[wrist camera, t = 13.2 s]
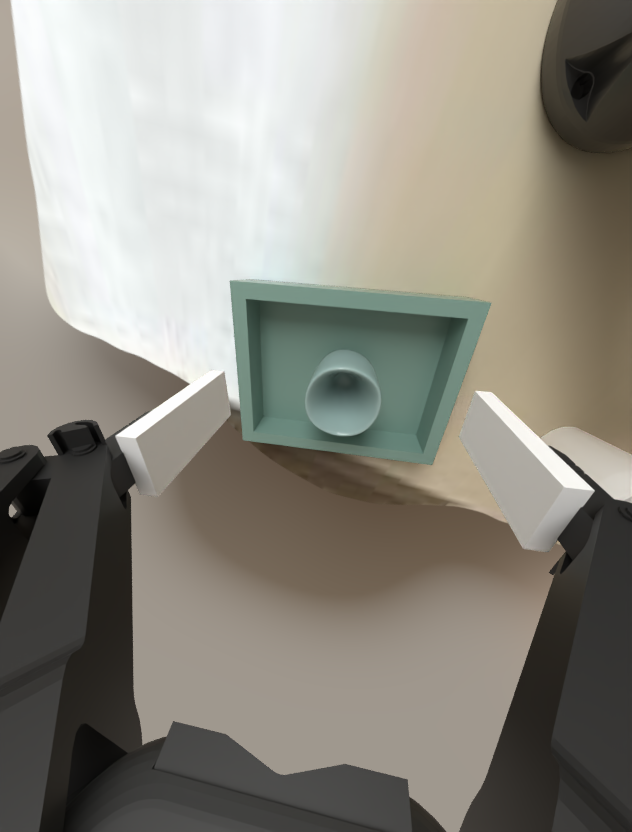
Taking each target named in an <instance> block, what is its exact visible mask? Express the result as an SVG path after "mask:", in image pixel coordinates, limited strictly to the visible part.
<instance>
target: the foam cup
mask: <svg viewBox="0 0 632 832" xmlns="http://www.w3.org/2000/svg"><path fill="white" fill-rule="evenodd" d="M541 440H542V441H543V442H544V443H545V444H546V445H547V446H552V447H553V448H555V449H557V450H559V451H560V452H562V453H564V454H565V455H566V456H567V457H569V458H570V459H571V460H572V461H573V462H574V463H575V465H576V466H578V467H579V468H581V469H582V470H583V471H584V474H587V475H588V476H589V477H590V478H592V479H593V480H594V481H595V482H596V483H597V484H598V485H599V486H600V487H601V488H602V489H604V490H605V491H606V492H607V493H608V494H609V495H610V496H611V497H612V498H613V499H616V500H622V501H627V502H630V503H632V454H630V453H628V452H626V451H624V450H622V449H620V448H617V447H615V446H613V445H611V444H609V443H607V442H605V441H603V440H601V439H599V438H597V437H595V436H593V435H591V434H589V433H587V432H585V431H583V430H581V429H579V428H576V427H561V428H557V429H554V430H551V431H550V432H548V433H547V434H545V435H544V436H542V437H541Z"/></svg>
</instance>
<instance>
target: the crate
mask: <svg viewBox="0 0 632 832" xmlns="http://www.w3.org/2000/svg"><path fill="white" fill-rule="evenodd" d="M230 288H231V301H232V313H233V325H234V337H235V349H236V361H237V373H238V385H239V397H240V409H241V421H242V434H243V440H246V441H254V442H261V443H269V444H277V445H284V446H292V447H299V448H307V449H314V450H322V451H330V452H337V453H345V454H352V455H360V456H367V457H375V458H383V459H390V460H398V461H405V462H413V463H420V464H428V465H432V464H433V461H434V459H435V456H436V453H437V450H438V448H439V445H440V442H441V439H442V437H443V434H444V431H445V429H446V426H447V423H448V420H449V418H450V415H451V412H452V409H453V407H454V404H455V401H456V398H457V396H458V393H459V390H460V388H461V385H462V382H463V379H464V377H465V374H466V371H467V368H468V366H469V363H470V360H471V357H472V355H473V352H474V349H475V347H476V344H477V341H478V338H479V336H480V333H481V330H482V327H483V325H484V322H485V319H486V317H487V314H488V311H489V308H490V306H491V303H490V302H486V301H482V300H477V299H473V298H469V297H458V296H446V295H434V294H422V293H410V292H398V291H386V290H374V289H362V288H350V287H338V286H326V285H314V284H302V283H290V282H278V281H266V280H254V279H246V280H233V281H230ZM339 349H349V350H354V351H356V352H359V353H361V354H362V355H364V356H365V357H366V358H367V359H368V360H369V361H370V362H371V363H372V365H373V366H374V368H375V371H376V373H377V376H378V380H379V384H380V388H381V397H382V401H381V408H380V411H379V414H378V416H377V418H376V420H375V421H374V423H373V424H372V425H371V426H370V427H369V428H368V429H367V430H365V431H364V432H362V433H360V434H357V435H354V436H337V435H332V434H329V433H327V432H324V431H322V430H321V429H319V428H317V427H316V426H315V425H314V424H313V423H312V422H311V421H310V420H309V418H308V416H307V414H306V409H305V394H306V390H307V387H308V384H309V381H310V379H311V376H312V374H313V372H314V370H315V368H316V367H317V365H318V363H319V362H320V361H321V360H322V358H323V357H324V356H326V355H327V354H328V353H330V352H332V351H335V350H339Z"/></svg>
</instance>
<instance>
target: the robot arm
mask: <svg viewBox="0 0 632 832" xmlns="http://www.w3.org/2000/svg"><path fill="white" fill-rule="evenodd" d="M542 94H543V100H544V105H545V109H546V112H547V115H548V118H549V120H550V122H551V124H552V126H553V127H554V129H555V131H556V132H557V133H558V134H559V136H560V137H561V138H562V139H563V140H565V141H566V142H567V143H569V144H570V145H572V146H574V147H576V148H578V149H580V150H584V151H588V152H594V153H609V152H616V151H621V150H625V149H628V148H631V147H632V0H558V1H557V3H556V6H555V9H554V12H553V15H552V18H551V22H550V25H549V29H548V33H547V37H546V41H545V47H544V53H543V60H542ZM230 415H231V412H230V405H229V399H228V393H227V386H226V380H225V373H224V371H213V370H211V371H209V372H208V373H207V374H205V375H204V376H202V377H201V378H199V379H198V380H196V381H195V382H193V383H192V384H190V385H189V386H188V387H186V388H185V389H183V390H182V391H180V392H179V393H177V394H176V395H174V396H173V397H171V398H170V399H168V400H167V401H166V402H164V403H163V404H161V405H160V406H158V407H157V408H155V409H153V410H151V411H149V412H146V413H144V414H143V415H141V416H140V417H138V418H137V419H136V420H134V421H132V422H131V423H129V425H126V426H125V427H123V428H122V429H121V430H119V431H117V432H116V433H115V434H113V435H112V436H110V437H109V438H107V439H106V440H105V439H104V437H103V434H102V432H101V430H100V428H99V426H98V423H97V422H96V421H93V420H81V421H75V422H72V423H68V424H65V425H62V426H60V427H57V428H56V429H54V430H52V431H51V432H50V433H49V434H48V438H49V439H50V441H51V443H52V445H53V446H54V448H55V450H56V452H57V453H58V455H57V456H45V457H44V456H43V455H42V453H41V451H40V450H39V448H38V447H37V446H34V445H24V446H19V447H12V448H10V449H6V450H3V451H2V452H0V832H446V831H445V830H444V828H443V827H442V826H441V825H440V824H439V823H438V822H437V821H436V819H435V818H434V817H433V816H432V815H430V814H429V813H428V812H427V811H426V810H425V809H424V808H423V807H422V806H421V805H420V804H419V803H417V802H416V801H415V800H413V799H412V798H410V797H409V791H408V780H407V779H403V778H399V777H395V776H391V775H387V774H383V773H379V772H375V771H371V770H367V769H363V768H359V767H355V766H351V765H347V764H343V765H338V766H332V767H327V768H321V769H316V770H311V771H305V772H300V773H294V774H289V775H280V774H277V773H275V772H274V771H272V770H271V769H270V768H269V767H267V766H266V765H264V764H263V763H262V762H261V761H259V760H258V759H257V758H256V757H254V756H253V755H252V754H251V753H249V752H248V751H247V750H245V749H244V748H243V747H242V746H240V745H239V744H238V743H236V742H235V741H234V740H232V739H231V738H230V737H229V736H228V735H226V734H222V733H219V732H215V731H210V730H207V729H203V728H198V727H194V726H190V725H186V724H182V723H178V722H174V721H173V723H172V725H171V728H170V730H169V733H168V735H167V737H162V738H160V739H157V740H154V741H151V742H148V743H146V744H144V745H142V733H141V726H140V720H139V716H138V712H137V709H136V705H135V700H134V691H133V625H132V548H131V497H130V494H129V492H128V489H129V488H130V487H131V486H132V485H134V484H136V486H137V488H138V491H139V493H140V494H141V495H148V496H155V497H158V496H159V495H160V494H161V493H162V492H163V491H164V490H165V488H166V487H167V486H168V485H169V484H170V483H171V482H172V481H173V479H174V478H175V477H176V476H177V475H178V474H179V473H180V471H181V470H182V469H183V468H184V467H185V466H186V465H187V464H188V463H189V461H190V460H191V459H192V458H193V457H194V456H195V455H196V454H197V452H198V451H199V450H200V449H201V448H202V447H203V446H204V444H205V443H206V442H207V441H208V440H209V439H210V438H211V437H212V436H213V434H214V433H215V432H216V431H217V430H218V429H219V427H220V426H221V425H222V424H223V423H224V422H225V421H226V420H227V419H228V417H229V416H230ZM459 438H460V440H461V442H462V444H463V445H464V447H465V449H466V450H467V452H468V454H469V456H470V457H471V459H472V461H473V463H474V464H475V466H476V468H477V470H478V471H479V473H480V475H481V476H482V478H483V480H484V482H485V483H486V485H487V487H488V489H489V490H490V492H491V494H492V496H493V497H494V499H495V501H496V502H497V504H498V506H499V508H500V509H501V511H502V513H503V515H504V516H505V518H506V520H507V522H508V523H509V525H510V527H511V528H512V530H513V532H514V534H515V535H516V537H517V539H518V541H519V542H520V544H521V546H522V548H523V549H529V550H536V551H543V552H549V551H550V550H551V548H552V547H553V546H554V544H555V543H556V542H557V540H558V541H559V542H560V544H561V545H562V546H563V548H564V549H565V550H566V552H565V553H564V554H563V556H562V557H561V558H560V559H559V561H558V562H557V563H556V564H555V565H554V567H553V568H552V569H551V570H550V572H549V573H550V574H552V575H554V574H555V575H554V578H553V581H552V584H551V587H550V590H549V593H548V596H547V599H546V602H545V605H544V608H543V611H542V614H541V617H540V619H539V623H538V625H537V628H536V631H535V634H534V637H533V640H532V643H531V646H530V649H529V652H528V655H527V658H526V661H525V664H524V667H523V670H522V673H521V676H520V679H519V682H518V684H517V687H516V690H515V693H514V697H513V700H512V702H511V706H510V708H509V711H508V714H507V717H506V720H505V723H504V726H503V729H502V732H501V735H500V738H499V741H498V744H497V747H496V750H495V752H494V755H493V759H492V761H491V764H490V767H489V770H488V773H487V776H486V778H485V781H484V783H483V785H482V787H481V789H480V790H479V792H478V794H477V795H476V797H475V798H474V800H473V801H472V803H471V805H470V808H469V809H468V811H467V813H466V816H465V818H464V821H463V823H462V826H461V828H460V831H459V832H632V503H630V502H627V501H622V500H616V499H613V498H612V497H611V496H610V495H609V494H608V493H607V492H606V491H605V490H604V489H602V488H601V487H600V486H599V485H598V484H597V483H596V482H595V481H594V480H593V479H592V478H590V477H589V476H588V475H587V474H584V471H583V470H582V469H581V468H579V467H578V466H576V465H575V463H574V462H573V461H572V460H571V459H570V458H569V457H567V456H566V455H565V454H564V453H562V452H560V451H559V450H557V449H555V448H553V447H552V446H547V445H546V444H545V443H544V442H543V441H542V440H541V439H540V438H539V437H538V436H537V435H536V434H535V433H534V432H533V431H532V430H531V429H530V428H528V427H527V426H526V425H525V424H524V423H523V422H522V421H521V420H520V419H519V418H518V417H517V416H516V415H515V414H514V413H513V412H512V411H511V410H510V409H509V408H508V407H506V406H505V405H504V404H503V403H502V402H501V401H500V400H499V399H498V398H497V397H496V396H495V395H494V394H493V393H492V392H482V391H475V393H474V395H473V398H472V401H471V404H470V407H469V410H468V412H467V415H466V418H465V421H464V424H463V427H462V429H461V432H460V435H459ZM10 504H12V505H13V506H14V508H15V509H16V510H17V512H16V514H15V515H14V516H13V517H12V518H11V517H10V516H9V506H10Z"/></svg>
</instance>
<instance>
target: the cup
mask: <svg viewBox="0 0 632 832" xmlns="http://www.w3.org/2000/svg"><path fill="white" fill-rule="evenodd" d="M381 401H382V397H381V388H380V384H379V380H378V376H377V373H376V371H375V368H374V366H373V365H372V363H371V362H370V361H369V360H368V359H367V358H366V357H365V356H364V355H362V354H361V353H359V352H356V351H354V350H349V349H339V350H335V351H332V352H330V353H328V354H327V355H326V356H324V357H323V358H322V360H321V361H320V362H319V363H318V365H317V367H316V368H315V370H314V372H313V374H312V376H311V379H310V381H309V384H308V387H307V390H306V394H305V409H306V414H307V416H308V418H309V420H310V421H311V422H312V423H313V424H314V425H315V426H316V427H317V428H319V429H321V430H322V431H324V432H327V433H329V434H332V435H337V436H354V435H357V434H360V433H362V432H364V431H365V430H367V429H368V428H369V427H370V426H371V425H372V424H373V423H374V421H375V420H376V418H377V416H378V414H379V411H380V408H381Z"/></svg>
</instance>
